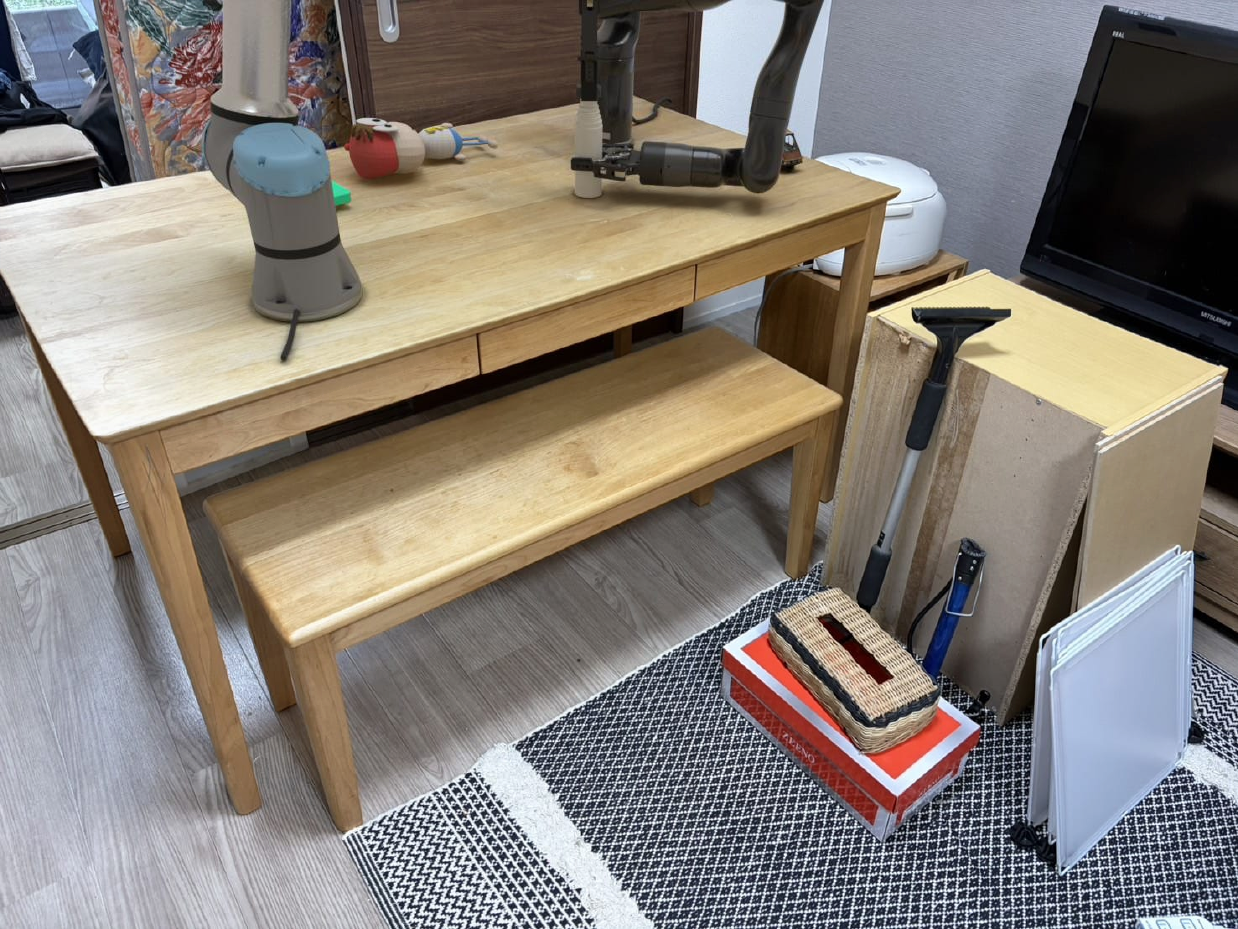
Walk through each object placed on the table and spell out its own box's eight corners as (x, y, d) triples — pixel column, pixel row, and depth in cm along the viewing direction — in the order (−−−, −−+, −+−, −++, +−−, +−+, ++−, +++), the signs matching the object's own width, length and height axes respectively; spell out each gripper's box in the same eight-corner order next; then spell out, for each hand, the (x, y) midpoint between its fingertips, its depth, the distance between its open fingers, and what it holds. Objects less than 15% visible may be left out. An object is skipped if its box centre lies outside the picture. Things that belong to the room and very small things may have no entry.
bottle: (582, 199, 168) (583, 94, 157) (570, 191, 172) (569, 87, 161) (606, 195, 170) (608, 91, 159) (593, 186, 174) (594, 84, 163)
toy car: (763, 152, 192) (768, 117, 188) (807, 168, 184) (812, 133, 180) (742, 157, 188) (745, 123, 184) (785, 174, 181) (790, 139, 177)
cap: (577, 92, 162) (577, 81, 161) (601, 93, 162) (601, 82, 161) (575, 99, 159) (575, 88, 158) (600, 99, 159) (600, 89, 158)
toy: (513, 124, 177) (360, 128, 162) (513, 178, 182) (363, 187, 167) (473, 109, 190) (327, 111, 175) (473, 159, 195) (331, 166, 180)
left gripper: (566, -66, 154) (567, 79, 168) (565, -48, 139) (566, 110, 153) (611, -65, 155) (608, 79, 168) (615, -46, 139) (612, 111, 153)
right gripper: (671, 131, 170) (579, 125, 171) (665, 156, 158) (566, 150, 160) (668, 171, 174) (579, 165, 175) (662, 199, 163) (567, 192, 164)
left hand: (588, 94), depth 161 cm, fingers open, 6 cm apart
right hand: (574, 158), depth 168 cm, fingers closed on bottle, 5 cm apart
